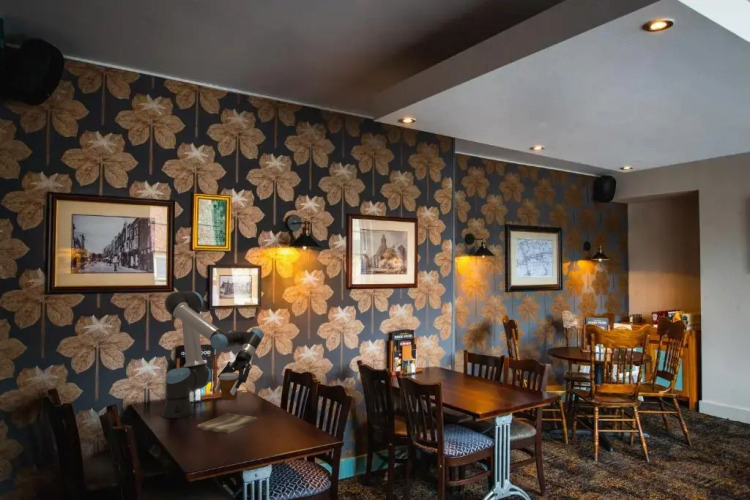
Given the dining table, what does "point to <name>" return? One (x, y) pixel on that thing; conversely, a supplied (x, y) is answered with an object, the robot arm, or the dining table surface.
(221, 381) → the disposable coffee cup
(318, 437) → the dining table surface
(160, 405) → the dining table surface
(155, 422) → the dining table surface
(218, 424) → the striped beige cloth
